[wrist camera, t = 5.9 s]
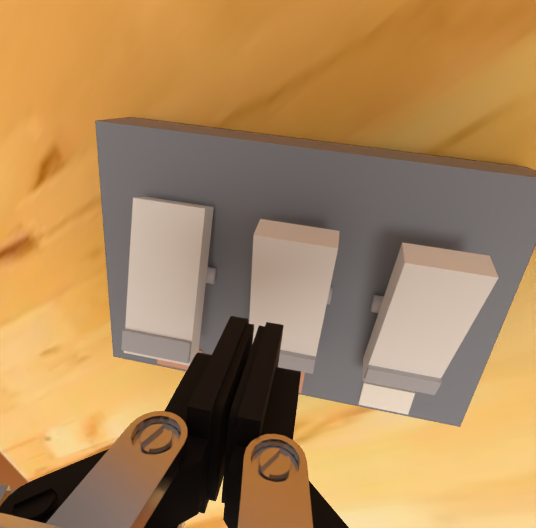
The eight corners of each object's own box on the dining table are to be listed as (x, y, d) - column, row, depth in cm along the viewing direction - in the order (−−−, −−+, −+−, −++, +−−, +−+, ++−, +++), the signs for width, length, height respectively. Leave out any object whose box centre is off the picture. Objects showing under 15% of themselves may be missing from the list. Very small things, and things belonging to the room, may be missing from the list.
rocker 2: (260, 218, 20) (252, 238, 18) (339, 230, 19) (338, 251, 18) (253, 341, 25) (246, 364, 23) (314, 352, 24) (312, 377, 23)
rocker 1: (146, 196, 22) (130, 197, 20) (213, 206, 22) (203, 208, 20) (136, 342, 24) (121, 354, 22) (198, 354, 24) (187, 368, 22)
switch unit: (131, 117, 25) (85, 121, 20) (526, 167, 22) (572, 184, 18) (139, 326, 32) (106, 364, 27) (445, 385, 29) (464, 438, 24)
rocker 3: (402, 242, 19) (405, 267, 17) (489, 255, 18) (500, 282, 17) (363, 358, 24) (362, 384, 23) (428, 370, 24) (432, 398, 22)
